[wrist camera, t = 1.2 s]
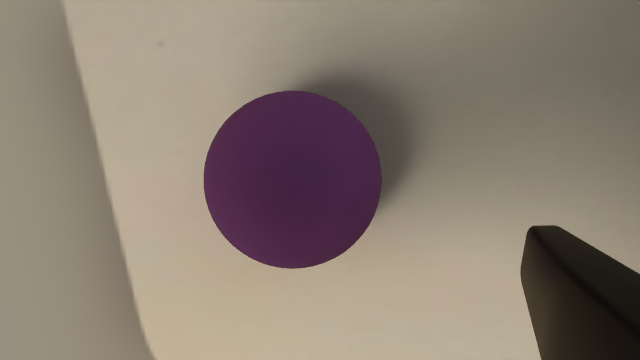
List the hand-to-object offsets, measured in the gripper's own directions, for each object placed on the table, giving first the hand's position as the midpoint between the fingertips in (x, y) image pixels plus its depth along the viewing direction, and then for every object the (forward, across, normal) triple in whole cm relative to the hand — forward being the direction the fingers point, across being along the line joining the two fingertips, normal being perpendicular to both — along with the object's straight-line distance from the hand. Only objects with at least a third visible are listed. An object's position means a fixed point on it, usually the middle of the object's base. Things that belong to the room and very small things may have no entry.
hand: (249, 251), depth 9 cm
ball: (+9, 0, +4) cm, 9 cm away
